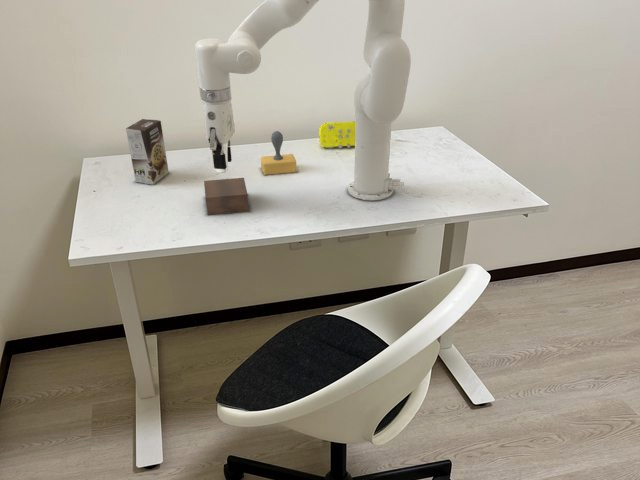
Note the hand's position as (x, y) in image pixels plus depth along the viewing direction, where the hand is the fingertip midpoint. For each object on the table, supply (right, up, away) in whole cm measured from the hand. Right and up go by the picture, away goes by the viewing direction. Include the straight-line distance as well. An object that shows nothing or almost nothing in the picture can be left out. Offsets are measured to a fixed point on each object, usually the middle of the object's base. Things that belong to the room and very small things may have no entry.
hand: (223, 164), depth 164 cm
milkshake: (0, -2, +1) cm, 2 cm away
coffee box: (-24, +1, +22) cm, 33 cm away
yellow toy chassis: (+34, +16, +42) cm, 56 cm away
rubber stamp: (+13, +4, +26) cm, 29 cm away
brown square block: (0, -9, +7) cm, 11 cm away
